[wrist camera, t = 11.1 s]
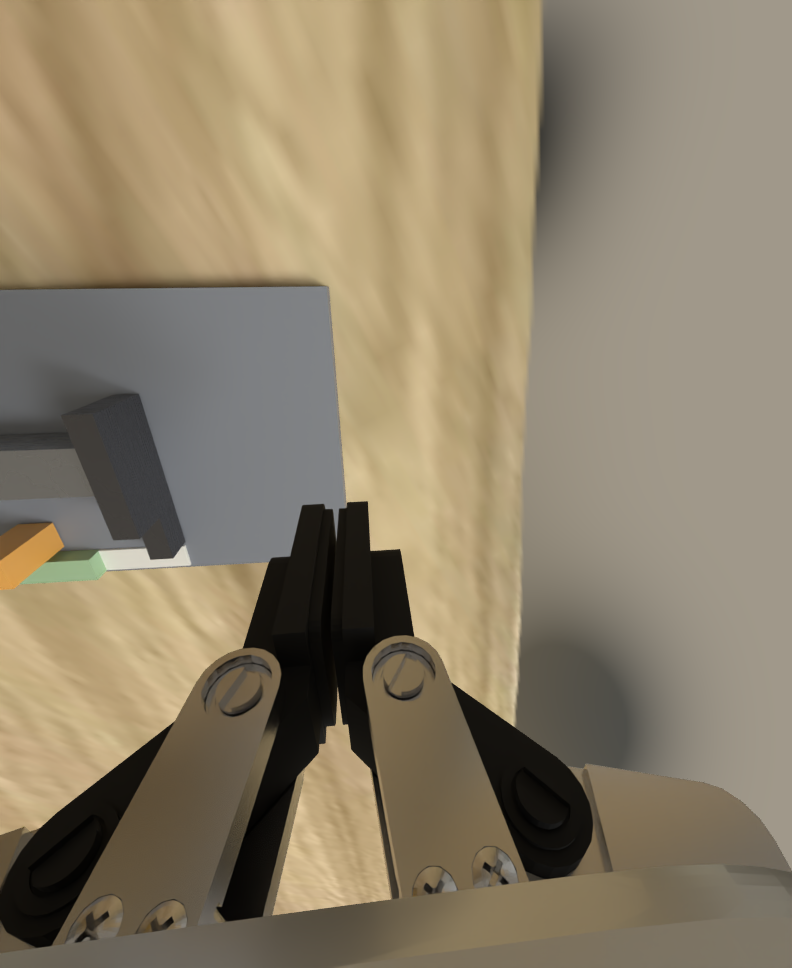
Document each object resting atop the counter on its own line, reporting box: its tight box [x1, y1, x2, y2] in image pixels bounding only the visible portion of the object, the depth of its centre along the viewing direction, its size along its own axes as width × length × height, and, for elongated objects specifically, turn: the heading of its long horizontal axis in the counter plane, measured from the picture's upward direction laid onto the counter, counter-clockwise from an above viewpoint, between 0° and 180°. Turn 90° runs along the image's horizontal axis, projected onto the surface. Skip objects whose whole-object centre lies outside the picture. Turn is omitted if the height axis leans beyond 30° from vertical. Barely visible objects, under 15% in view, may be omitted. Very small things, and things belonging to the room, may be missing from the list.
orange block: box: [0, 523, 64, 590], centre depth 20 cm, size 2×2×4 cm
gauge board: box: [0, 286, 347, 584], centre depth 18 cm, size 15×25×5 cm, turn 91°
